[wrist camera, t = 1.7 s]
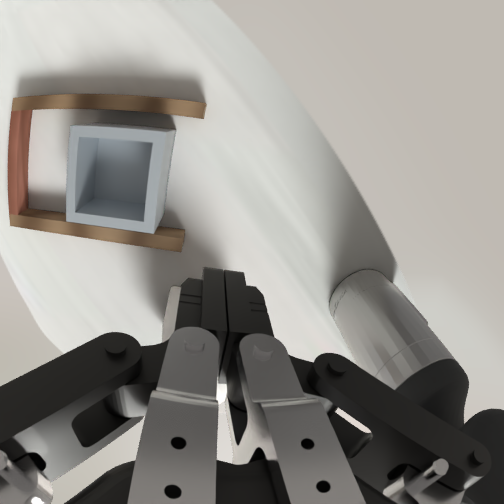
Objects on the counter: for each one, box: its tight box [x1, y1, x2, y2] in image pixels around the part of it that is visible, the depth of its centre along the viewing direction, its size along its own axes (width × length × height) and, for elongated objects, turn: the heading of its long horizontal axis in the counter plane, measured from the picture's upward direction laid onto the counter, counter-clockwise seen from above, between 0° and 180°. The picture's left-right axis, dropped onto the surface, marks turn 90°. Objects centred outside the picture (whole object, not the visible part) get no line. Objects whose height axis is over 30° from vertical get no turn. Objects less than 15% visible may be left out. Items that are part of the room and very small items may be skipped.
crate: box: [66, 123, 176, 234], centre depth 25 cm, size 9×9×6 cm
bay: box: [8, 94, 207, 252], centre depth 26 cm, size 22×15×2 cm
